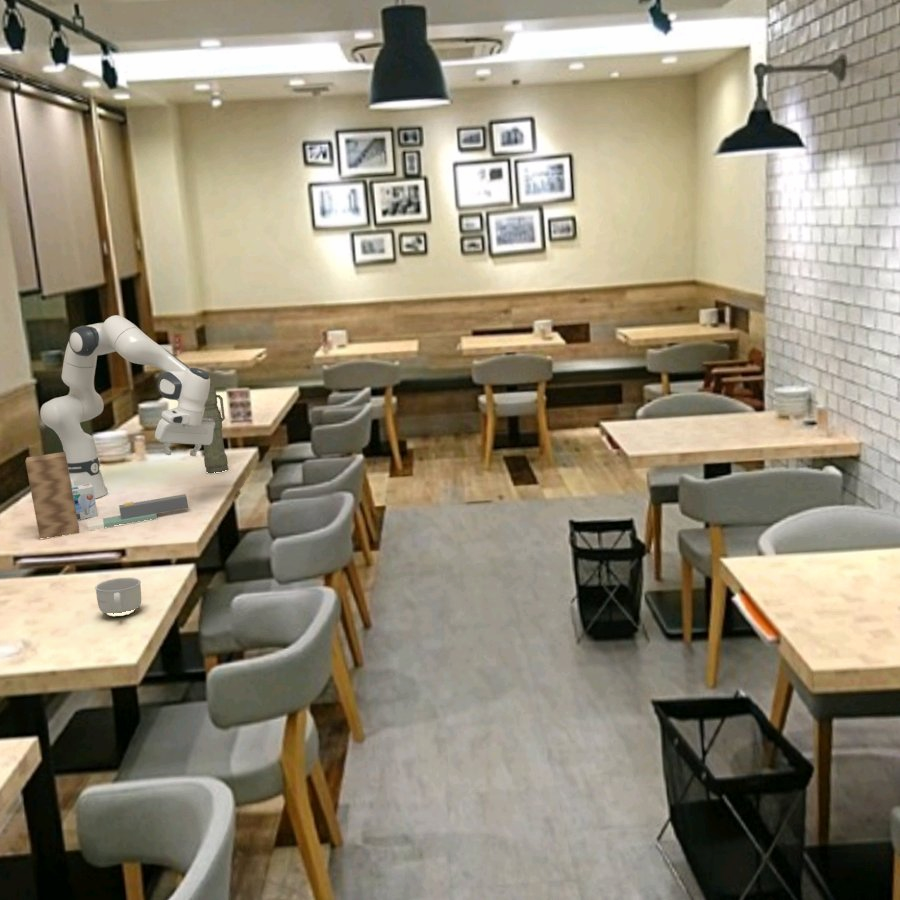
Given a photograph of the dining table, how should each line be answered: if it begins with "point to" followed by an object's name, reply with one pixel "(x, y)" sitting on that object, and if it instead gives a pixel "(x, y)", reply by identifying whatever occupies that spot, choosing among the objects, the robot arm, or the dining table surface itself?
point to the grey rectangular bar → (153, 506)
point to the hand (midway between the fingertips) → (180, 455)
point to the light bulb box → (84, 501)
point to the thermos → (215, 435)
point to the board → (116, 521)
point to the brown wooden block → (52, 495)
